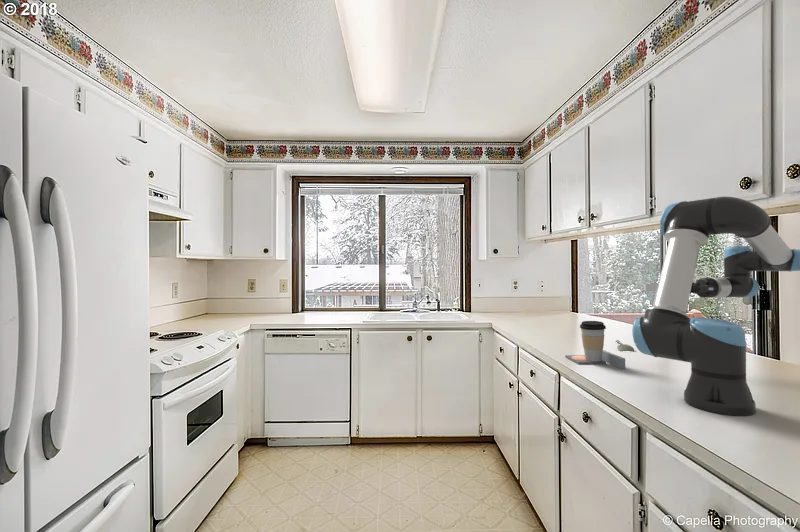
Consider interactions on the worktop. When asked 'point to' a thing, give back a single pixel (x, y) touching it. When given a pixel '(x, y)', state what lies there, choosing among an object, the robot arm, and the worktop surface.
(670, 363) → the worktop surface
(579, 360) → the mat
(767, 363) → the worktop surface
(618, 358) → the blue-grey rectangular bar
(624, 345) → the toy dinosaur
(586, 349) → the coffee cup
